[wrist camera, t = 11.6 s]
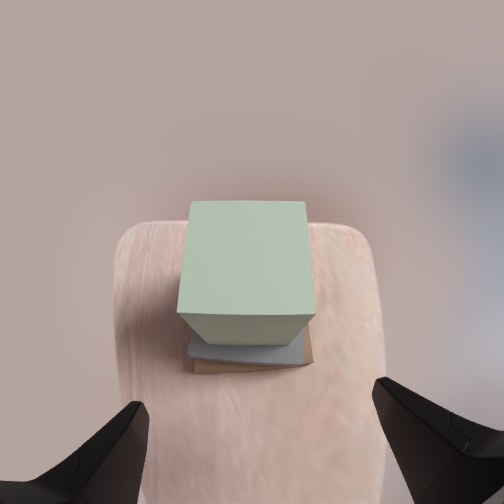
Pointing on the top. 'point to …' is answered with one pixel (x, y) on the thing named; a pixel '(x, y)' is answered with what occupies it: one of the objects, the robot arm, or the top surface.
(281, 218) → the sage green block
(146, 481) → the top surface
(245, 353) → the charcoal top slab
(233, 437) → the top surface
